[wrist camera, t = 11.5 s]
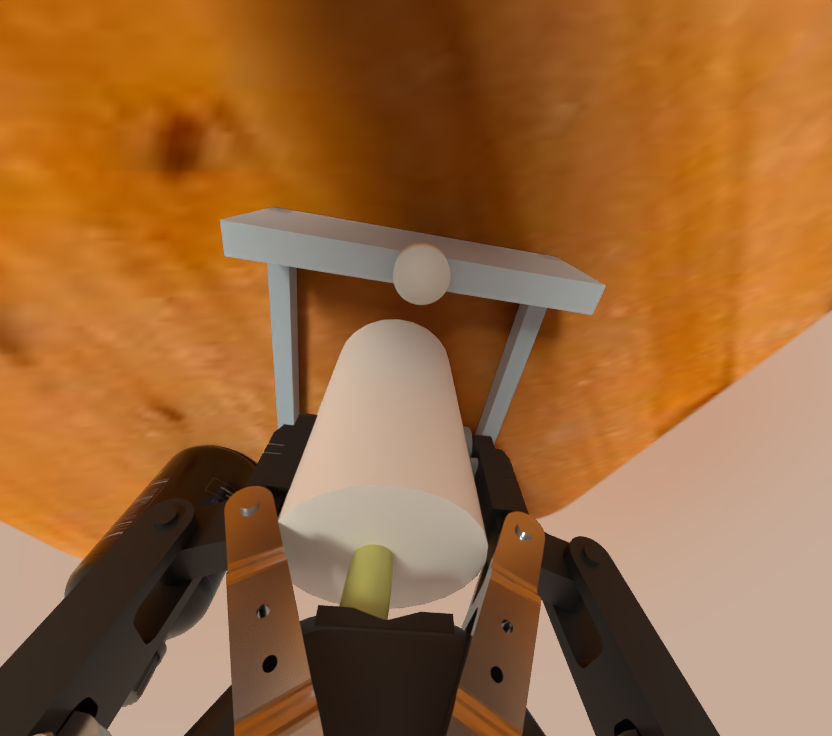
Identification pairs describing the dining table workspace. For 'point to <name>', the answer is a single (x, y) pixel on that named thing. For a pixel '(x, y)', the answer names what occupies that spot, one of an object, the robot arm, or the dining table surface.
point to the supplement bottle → (201, 485)
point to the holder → (403, 285)
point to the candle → (386, 479)
